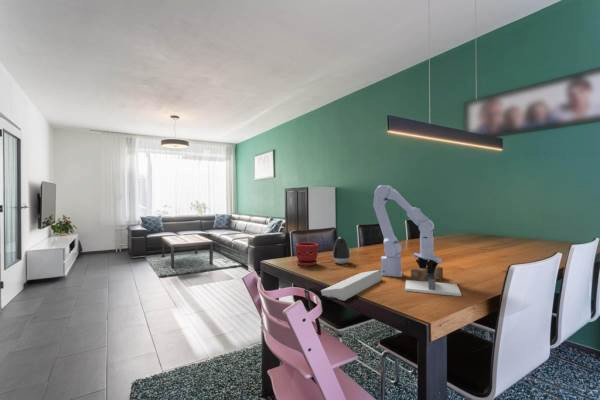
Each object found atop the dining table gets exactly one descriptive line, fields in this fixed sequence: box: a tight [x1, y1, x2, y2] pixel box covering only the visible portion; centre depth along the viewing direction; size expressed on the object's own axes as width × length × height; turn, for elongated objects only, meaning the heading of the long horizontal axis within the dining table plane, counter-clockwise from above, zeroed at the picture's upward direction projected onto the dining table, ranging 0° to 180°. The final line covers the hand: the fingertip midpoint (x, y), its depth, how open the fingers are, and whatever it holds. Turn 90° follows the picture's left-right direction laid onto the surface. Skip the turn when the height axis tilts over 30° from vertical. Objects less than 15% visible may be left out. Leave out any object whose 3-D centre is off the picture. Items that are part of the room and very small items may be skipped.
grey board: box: [404, 279, 462, 297], centre depth 121 cm, size 20×13×1 cm, turn 69°
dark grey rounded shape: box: [332, 236, 351, 265], centre depth 171 cm, size 10×10×15 cm
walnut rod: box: [410, 265, 444, 282], centre depth 135 cm, size 16×4×5 cm, turn 114°
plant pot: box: [295, 242, 319, 267], centre depth 169 cm, size 13×13×12 cm
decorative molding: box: [320, 269, 383, 301], centre depth 125 cm, size 34×5×10 cm
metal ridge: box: [427, 273, 436, 290], centre depth 121 cm, size 2×10×4 cm, turn 159°
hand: (427, 275), depth 135 cm, fingers closed on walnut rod, 3 cm apart
